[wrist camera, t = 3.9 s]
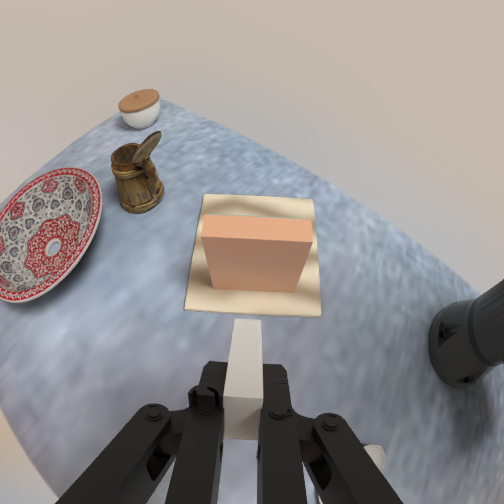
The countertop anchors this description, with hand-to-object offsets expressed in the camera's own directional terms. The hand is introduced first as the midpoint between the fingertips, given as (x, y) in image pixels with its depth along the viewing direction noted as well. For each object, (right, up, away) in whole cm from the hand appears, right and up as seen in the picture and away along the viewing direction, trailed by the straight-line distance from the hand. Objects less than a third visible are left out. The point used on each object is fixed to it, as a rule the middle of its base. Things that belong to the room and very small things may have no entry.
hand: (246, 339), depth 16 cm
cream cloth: (+1, +5, +31) cm, 31 cm away
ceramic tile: (+1, +1, +27) cm, 27 cm away
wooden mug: (-19, +15, +36) cm, 44 cm away
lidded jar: (-28, +39, +50) cm, 70 cm away
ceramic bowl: (-38, +6, +31) cm, 49 cm away
